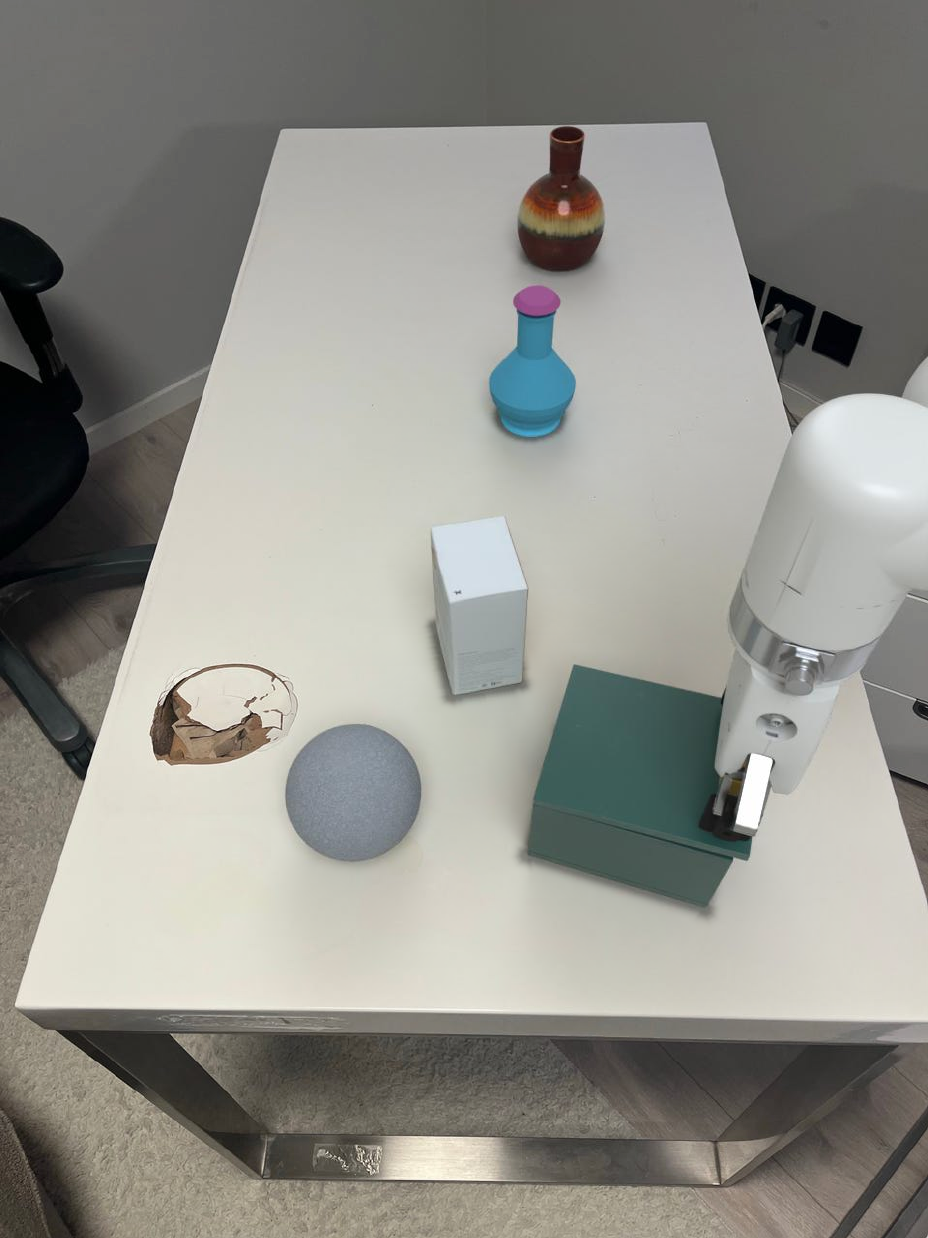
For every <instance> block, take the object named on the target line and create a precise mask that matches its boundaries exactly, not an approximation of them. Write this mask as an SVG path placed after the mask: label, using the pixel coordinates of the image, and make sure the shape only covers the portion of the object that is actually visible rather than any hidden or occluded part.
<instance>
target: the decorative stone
mask: <svg viewBox="0 0 928 1238" xmlns="http://www.w3.org/2000/svg"><path fill="white" fill-rule="evenodd" d="M284 798H285V799H284V800H285V807H286V813H287V815H288V819H289V821H290V823H291V826H292V827H293V830H294V831H295V833H296V834H297V835H298V837H299V838H300V839H301V840H302V841H303V842H304V843H305V844H306V845H307V846H308V847H310V848H311V849H312V850H313V851H315V852H317V853H318V854H320V855H322V856H324V857H327V858H329V859H332V860H335V861H339V862H349V863H350V862H352V863H353V862H363V861H367V860H368V861H369V860H372V859H374V858H377V857H380V856H382V855H383V854H386V853H387V852H389V851H390V850H392V849H393V848H395V847H396V846H397V845H398V844H399V843H401V842H402V840H403V839H404V838H405V837H406V836H407V835H408V833H409V831H410V830H411V829H412V827H413V825H414V823H415V821H416V819H417V817H418V813H419V811H420V807H421V800H422V783H421V776H420V772H419V769H418V766H417V764H416V762H415V759H414V757H413V756H412V754H411V753H410V751H409V750H408V748H407V747H405V745H404V744H403V743H402V742H401V741H400V740H398V739H397V738H396V737H395V736H394V735H392V734H390V733H389V732H387V731H385V730H383V729H382V728H379V727H376V726H373V725H369V724H362V723H350V724H349V723H348V724H341V725H338V726H334V727H332V728H331V727H330V728H329V729H327V730H325V731H322V732H321V733H319V734H317V735H316V736H314V737H313V738H312V739H310V740H309V741H308V742H307V743H306V744H304V746H303V747H302V748H301V750H300V751H299V752H298V753H297V754H296V756H295V758H294V760H293V761H292V763H291V765H290V768H289V770H288V773H287V777H286V783H285V791H284Z"/></svg>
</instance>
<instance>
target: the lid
mask: <svg viewBox="0 0 928 1238" xmlns="http://www.w3.org/2000/svg"><path fill="white" fill-rule="evenodd" d="M721 699H722V697H720V696H717V695H716V696H715V695H711V694H707V693H702V692H697V691H693V690H688V689H684V688H681V687H676V686H672V685H667V684H663V683H658V682H655V681H650V680H645V679H641V678H636V677H633V676H627V675H623V674H619V673H614V672H610V671H606V670H602V669H597V668H592V667H589V666H588V667H587V666H583V665H579V664H573V665H572V668H571V672H570V675H569V678H568V682H567V685H566V688H565V691H564V694H563V698H562V702H561V705H560V707H559V712H558V714H557V718H556V722H555V725H554V727H553V732H552V735H551V739H550V742H549V745H548V748H547V751H546V755H545V758H544V761H543V765H542V768H541V771H540V774H539V778H538V781H537V785H536V788H535V790H534V791H535V792H534V795H533V797H532V805H533V804H535V805H539V806H543V807H546V808H550V809H554V810H557V811H561V812H565V813H569V814H572V815H576V816H580V817H584V818H587V819H591V820H595V821H599V822H602V823H606V824H610V825H614V826H617V827H621V828H625V829H629V830H632V831H636V832H640V833H644V834H647V835H651V836H655V837H659V838H662V839H666V840H670V841H674V842H677V843H681V844H685V845H689V846H692V847H696V848H700V849H704V850H707V851H711V852H715V853H719V854H722V855H726V856H730V857H733V859H738V860H743V861H745V862H748V861H749V859H750V857H751V852H752V844H753V836H751V837H750V839H749V840H748V841H741V840H738V841H736V842H729V841H725V840H721V839H718V838H716V837H715V836H713V833H712V832H709V831H705V830H702V829H700V828H699V822H700V818H701V816H702V813H703V811H704V809H705V807H706V805H707V802H708V800H709V798H710V796H711V794H717V791H718V787H719V784H720V780H721V776H720V775H719V774H718V773H717V771H716V769H715V758H716V751H717V744H718V737H719V729H720V722H721V715H722V709H723V706H722V705H721ZM746 761H747V757H746V759H745V761H744V763H743V765H742V766H744V767H745V766H746ZM741 783H742V782H741V781H737V780H734V779H732V783H731V786H730V790H729V793H728V794H729V795H733V796H736V797H739V792H740V788H741Z"/></svg>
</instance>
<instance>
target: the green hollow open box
mask: <svg viewBox="0 0 928 1238" xmlns="http://www.w3.org/2000/svg"><path fill="white" fill-rule="evenodd" d="M531 807H532V808H531V818H530V829H529V836H528V837H529V838H528V846H527V855H528V856H531V857H534V858H537V859H540V860H544V861H547V862H551V863H554V864H558V865H561V866H564V867H566V868H571V869H574V870H578V871H581V872H583V873H584V872H585V873H588V874H591V875H595V876H598V877H601V878H604V879H608V880H612V881H614V882H618V883H621V884H624V885H627V886H632V887H635V888H638V889H641V890H645V891H648V892H652V893H655V894H658V895H661V896H665V897H667V898H671V899H674V900H678V901H681V902H685V903H687V904H691V905H694V906H699V907H702V908H705V909H707V907H708V906H709V904H710V902H711V901H712V899H713V898H714V896H715V894H716V892H717V890H718V888H719V887H720V885H721V883H722V881H723V879H724V878H725V876H726V874H727V872H728V871H729V869H730V868H731V866H732V864H733V862H734V857H730V856H726V855H722V854H719V853H715V852H711V851H707V850H704V849H700V848H696V847H692V846H689V845H685V844H681V843H677V842H674V841H670V840H666V839H662V838H659V837H655V836H651V835H647V834H644V833H640V832H636V831H632V830H629V829H625V828H621V827H617V826H614V825H610V824H606V823H602V822H599V821H595V820H591V819H587V818H584V817H580V816H576V815H572V814H569V813H565V812H561V811H557V810H554V809H550V808H546V807H543V806H539V805H535V804H533V803H532V806H531Z"/></svg>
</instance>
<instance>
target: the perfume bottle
mask: <svg viewBox="0 0 928 1238" xmlns="http://www.w3.org/2000/svg"><path fill="white" fill-rule="evenodd" d="M512 303H513V307H515V310H516V313H517V334H516V335H517V338H516V346H515V348H513V349H512V351H510V353H509V354H508V355H507V356H505V357H504V358H503V359H502V360H501V361H500V362H499V363H498V364H497V365H496V366H495V367H494V369H493V370H492V371H491V372H490V375H489V379H488V387H489V392H490V393H489V394H490V396H491V399H492V402H493V404H494V405H495V407H496V412H497V413H498V414H499V417H500V422H501V424H502V426H504V428H505V429H506V430H507V431H508V432H510V433H512V434H514V435H517V436H520V437H527V438H537V437H542V436H545V435H548V434H550V433H551V432H553V431H555V430H556V429H557V428H558V426H559V425H560V422H561V419H562V417H563V416H564V414H565V412H566V410H567V409H568V408H569V406H570V405H571V403H572V401H573V398H574V395H575V391H576V387H577V380H576V377H575V374H574V373H573V371H572V370H571V368H570V367H569V366H568V365H567V364H566V362H565V361H564V360H563V359H562V358H561V357H560V356H559V354H558V353H557V352H556V351H555V350H554V348H553V334H554V322H555V321H554V320H555V315H556V314H557V311H558V309H559V308H560V306H561V298H560V296H559V295H558V294H557V293H556V292H555V291H554V290H552V289H551V288H549V287H547V286H544V285H530V286H529V285H528V286H527V287H524V288H523V289H521V290H520V291H519V292H517V293H516V294H515V295H514V296H513V299H512Z"/></svg>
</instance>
